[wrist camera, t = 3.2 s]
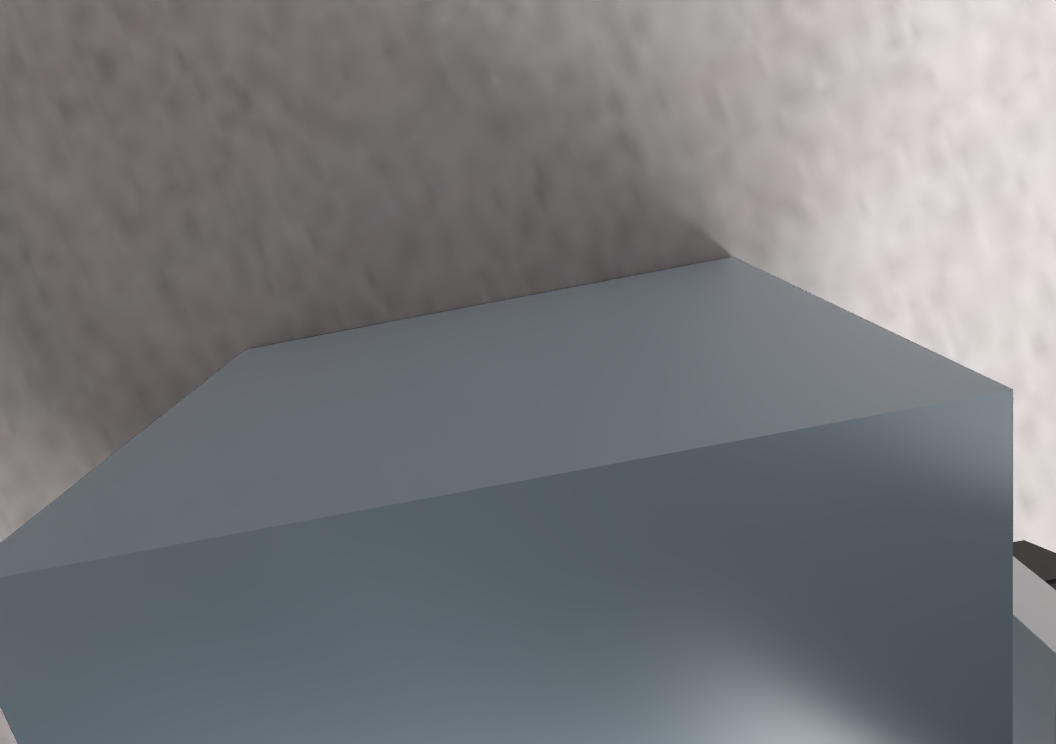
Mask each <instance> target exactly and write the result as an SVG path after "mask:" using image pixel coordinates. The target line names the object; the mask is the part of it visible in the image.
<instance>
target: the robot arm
mask: <svg viewBox="0 0 1056 744" xmlns="http://www.w3.org/2000/svg"><path fill="white" fill-rule="evenodd" d="M1013 744H1056V553H1054V552H1052V551H1049V550H1047V549H1044V548H1042V547H1039V546H1037V545H1034V544H1032V543H1029V542H1027V541H1024V540H1023V541H1018V542H1013Z"/></svg>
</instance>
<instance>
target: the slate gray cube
mask: <svg viewBox="0 0 1056 744" xmlns="http://www.w3.org/2000/svg"><path fill="white" fill-rule="evenodd" d="M0 707H1V709H2V711H3V713H4V715H5V718H6V720H7V722H8V724H9V726H10V728H11V730H12V732H13V734H14V737H15V739H16V741H17V743H18V744H1013V389H1011V388H1009V387H1007V386H1004V385H1002V384H1000V383H998V382H996V381H994V380H992V379H990V378H988V377H985V376H983V375H981V374H979V373H977V372H975V371H973V370H971V369H969V368H967V367H964V366H962V365H960V364H958V363H956V362H954V361H952V360H950V359H948V358H945V357H943V356H941V355H939V354H937V353H935V352H933V351H931V350H929V349H927V348H924V347H922V346H920V345H918V344H916V343H914V342H912V341H910V340H908V339H905V338H903V337H901V336H899V335H897V334H895V333H893V332H891V331H889V330H887V329H884V328H882V327H880V326H878V325H876V324H874V323H872V322H870V321H868V320H865V319H863V318H861V317H859V316H857V315H855V314H853V313H851V312H849V311H847V310H844V309H842V308H840V307H838V306H836V305H834V304H832V303H830V302H828V301H825V300H823V299H821V298H819V297H817V296H815V295H813V294H811V293H809V292H807V291H804V290H802V289H800V288H798V287H796V286H794V285H792V284H790V283H788V282H786V281H783V280H781V279H779V278H777V277H775V276H773V275H771V274H769V273H767V272H764V271H762V270H760V269H758V268H756V267H754V266H752V265H750V264H748V263H746V262H743V261H741V260H739V259H737V258H735V257H728V258H723V259H718V260H713V261H707V262H702V263H697V264H692V265H686V266H681V267H676V268H671V269H665V270H660V271H655V272H650V273H644V274H639V275H634V276H629V277H623V278H618V279H613V280H608V281H602V282H597V283H592V284H587V285H581V286H576V287H571V288H565V289H560V290H555V291H550V292H544V293H539V294H534V295H529V296H523V297H518V298H513V299H508V300H502V301H497V302H492V303H487V304H481V305H476V306H471V307H466V308H460V309H455V310H450V311H445V312H439V313H434V314H429V315H424V316H418V317H413V318H408V319H403V320H397V321H392V322H387V323H382V324H376V325H371V326H366V327H361V328H355V329H350V330H345V331H340V332H334V333H329V334H324V335H319V336H313V337H308V338H303V339H298V340H292V341H287V342H282V343H277V344H271V345H266V346H261V347H256V348H250V349H245V350H244V351H243V352H241V353H240V354H239V355H238V356H236V357H235V358H234V359H233V360H231V361H230V362H229V363H228V364H226V365H225V366H224V367H222V368H221V369H220V370H219V371H217V372H216V373H215V374H214V375H212V376H211V377H210V378H209V379H207V380H206V381H205V382H203V383H202V384H201V385H200V386H198V387H197V388H196V389H195V390H193V391H192V392H191V393H190V394H188V395H187V396H186V397H185V398H183V399H182V400H181V401H179V402H178V403H177V404H176V405H174V406H173V407H172V408H171V409H169V410H168V411H167V412H166V413H164V414H163V415H162V416H161V417H159V418H158V419H157V420H155V421H154V422H153V423H152V424H150V425H149V426H148V427H147V428H145V429H144V430H143V431H142V432H140V433H139V434H138V435H136V436H135V437H134V438H133V439H131V440H130V441H129V442H128V443H126V444H125V445H124V446H123V447H121V448H120V449H119V450H118V451H116V452H115V453H114V454H112V455H111V456H110V457H109V458H107V459H106V460H105V461H104V462H102V463H101V464H100V465H99V466H97V467H96V468H95V469H94V470H92V471H91V472H90V473H88V474H87V475H86V476H85V477H83V478H82V479H81V480H80V481H78V482H77V483H76V484H75V485H73V486H72V487H71V488H69V489H68V490H67V491H66V492H64V493H63V494H62V495H61V496H59V497H58V498H57V499H56V500H54V501H53V502H52V503H51V504H49V505H48V506H47V507H45V508H44V509H43V510H42V511H40V512H39V513H38V514H37V515H35V516H34V517H33V518H32V519H30V520H29V521H28V522H27V523H25V524H24V525H23V526H21V527H20V528H19V529H18V530H16V531H15V532H14V533H13V534H11V535H10V536H9V537H8V538H6V539H5V540H4V541H2V542H1V543H0Z"/></svg>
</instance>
